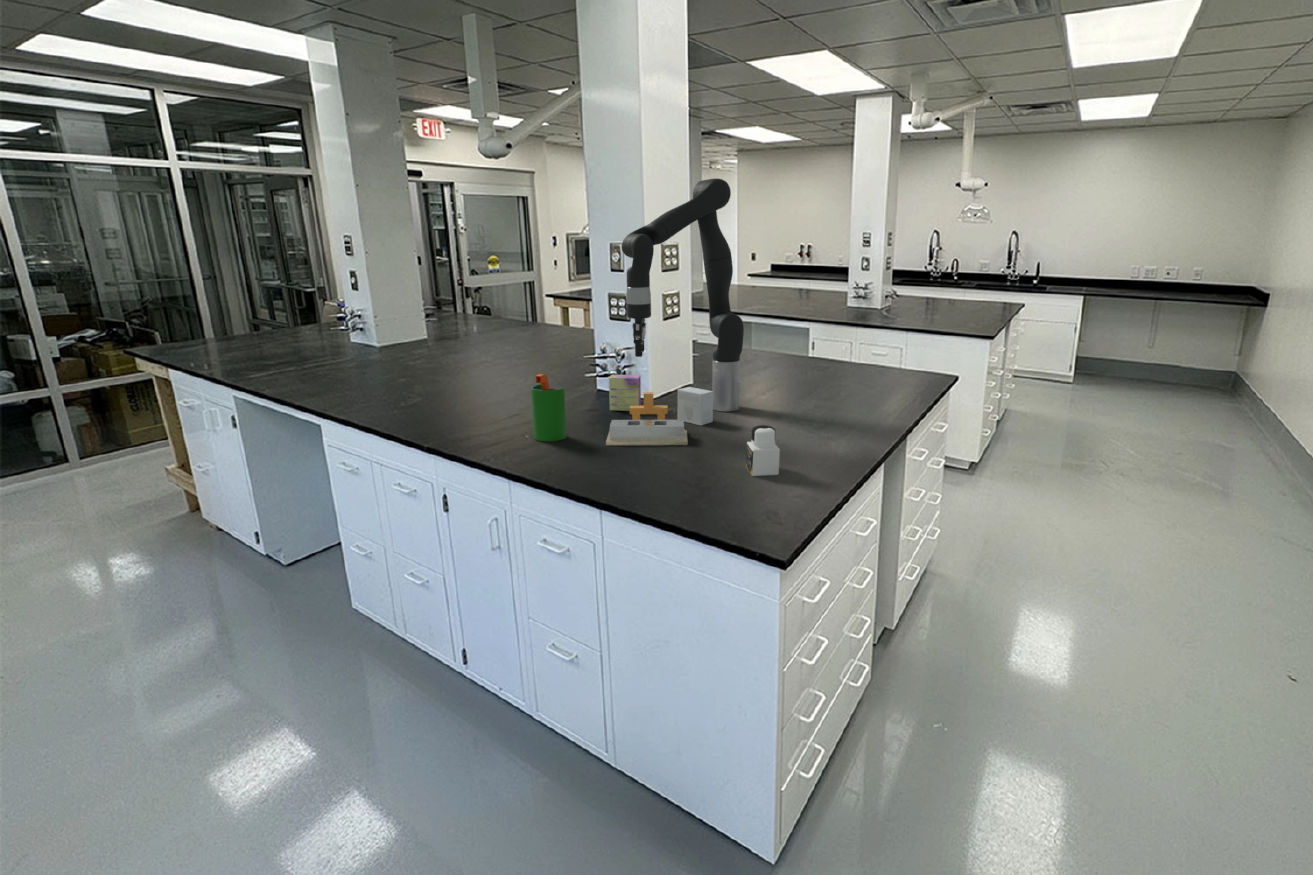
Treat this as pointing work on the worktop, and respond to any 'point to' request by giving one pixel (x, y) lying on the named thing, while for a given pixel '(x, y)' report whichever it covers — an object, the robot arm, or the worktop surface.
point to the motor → (548, 411)
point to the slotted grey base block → (647, 432)
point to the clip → (648, 408)
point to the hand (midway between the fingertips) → (639, 354)
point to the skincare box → (695, 405)
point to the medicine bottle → (762, 452)
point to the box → (624, 392)
